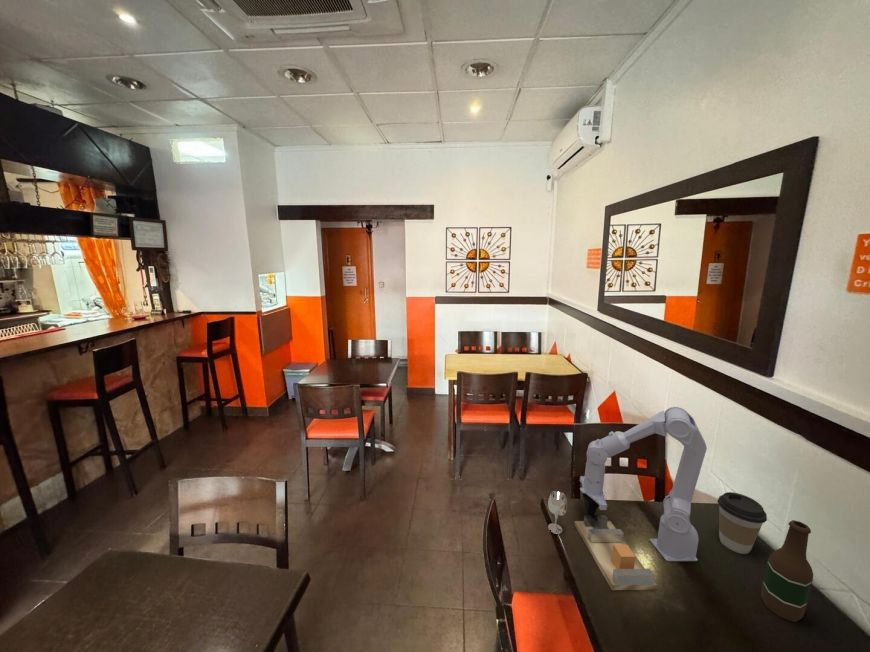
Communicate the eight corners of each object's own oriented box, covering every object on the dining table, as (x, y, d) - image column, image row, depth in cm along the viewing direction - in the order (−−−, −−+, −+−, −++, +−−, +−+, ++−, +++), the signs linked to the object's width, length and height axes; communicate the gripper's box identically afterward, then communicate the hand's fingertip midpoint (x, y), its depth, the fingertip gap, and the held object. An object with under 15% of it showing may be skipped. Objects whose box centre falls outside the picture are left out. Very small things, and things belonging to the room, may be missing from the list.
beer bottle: (751, 592, 90) (768, 512, 86) (781, 594, 90) (800, 513, 86) (779, 622, 83) (800, 536, 78) (812, 624, 82) (835, 537, 78)
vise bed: (609, 524, 113) (610, 520, 113) (656, 589, 91) (656, 584, 90) (574, 525, 113) (574, 521, 112) (612, 590, 90) (612, 585, 90)
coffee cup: (726, 527, 113) (734, 486, 111) (768, 554, 103) (778, 510, 100) (702, 535, 110) (709, 493, 107) (743, 564, 99) (752, 518, 96)
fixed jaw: (648, 578, 92) (649, 568, 92) (653, 584, 90) (654, 575, 90) (612, 578, 92) (613, 568, 91) (616, 585, 90) (617, 575, 89)
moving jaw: (609, 522, 112) (609, 515, 111) (623, 542, 104) (624, 534, 103) (579, 522, 112) (579, 515, 111) (590, 542, 104) (591, 534, 103)
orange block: (633, 572, 94) (635, 556, 93) (619, 572, 94) (621, 556, 93) (625, 560, 98) (627, 544, 97) (611, 559, 98) (613, 544, 97)
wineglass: (561, 522, 114) (565, 490, 112) (566, 536, 108) (570, 502, 106) (544, 521, 114) (547, 489, 112) (548, 534, 108) (551, 501, 106)
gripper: (572, 464, 119) (569, 499, 121) (593, 491, 105) (588, 530, 107) (592, 464, 119) (588, 499, 122) (615, 491, 105) (610, 530, 107)
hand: (590, 514), depth 114 cm, fingers closed
